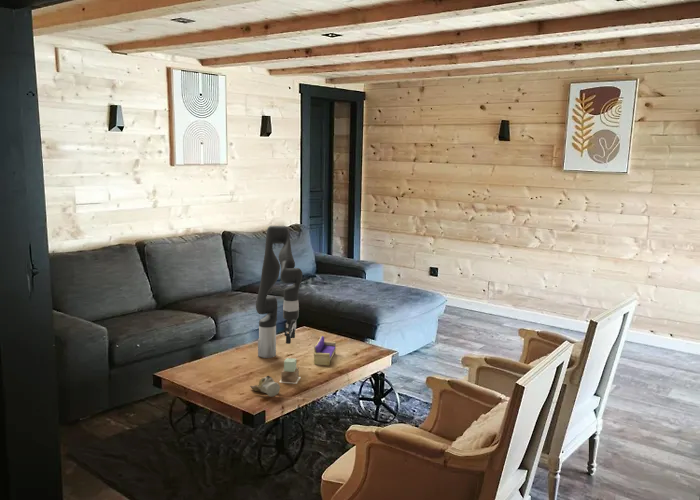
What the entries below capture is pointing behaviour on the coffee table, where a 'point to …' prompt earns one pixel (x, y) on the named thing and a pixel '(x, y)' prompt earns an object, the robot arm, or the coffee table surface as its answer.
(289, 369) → the sage cube
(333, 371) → the coffee table surface
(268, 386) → the ceramic sculpture
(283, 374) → the walnut base block
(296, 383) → the mat
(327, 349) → the toy sofa
